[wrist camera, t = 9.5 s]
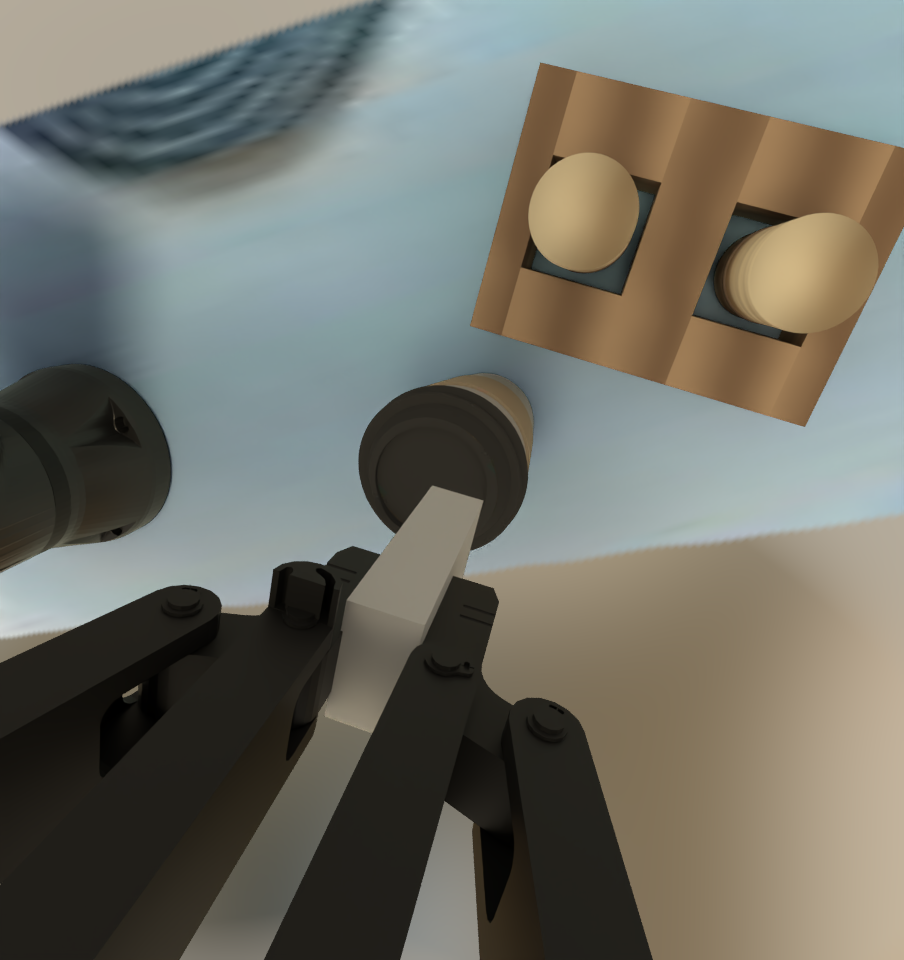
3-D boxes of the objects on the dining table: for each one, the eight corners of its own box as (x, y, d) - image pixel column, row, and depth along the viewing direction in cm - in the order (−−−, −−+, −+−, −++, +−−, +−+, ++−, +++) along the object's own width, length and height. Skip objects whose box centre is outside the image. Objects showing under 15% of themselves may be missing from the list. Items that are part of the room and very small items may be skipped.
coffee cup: (483, 329, 42) (422, 353, 28) (577, 421, 42) (561, 489, 29) (401, 419, 46) (310, 480, 32) (488, 504, 46) (436, 601, 32)
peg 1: (540, 262, 39) (513, 255, 28) (565, 180, 38) (546, 138, 27) (615, 283, 39) (617, 284, 28) (643, 201, 37) (657, 167, 26)
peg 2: (695, 305, 38) (730, 316, 27) (727, 223, 36) (779, 197, 25) (775, 328, 37) (844, 348, 26) (812, 245, 36) (903, 229, 25)
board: (485, 320, 42) (470, 325, 37) (548, 89, 37) (540, 62, 32) (781, 409, 39) (804, 426, 34) (894, 173, 34) (938, 156, 29)
